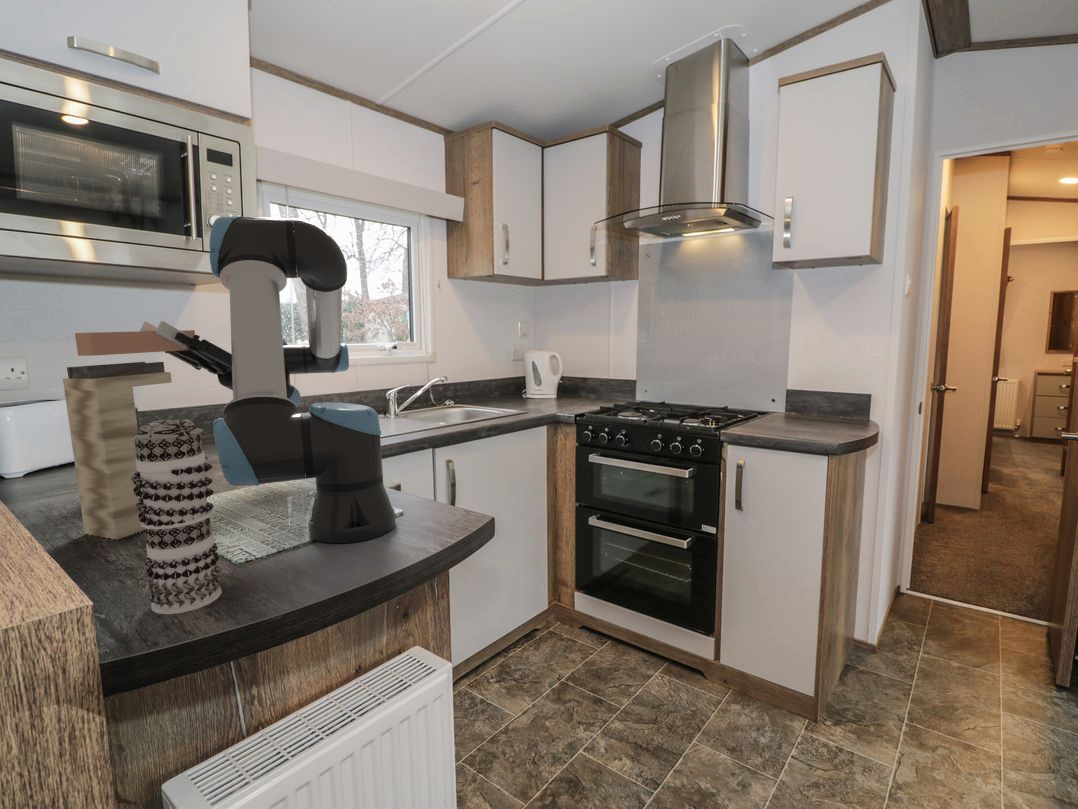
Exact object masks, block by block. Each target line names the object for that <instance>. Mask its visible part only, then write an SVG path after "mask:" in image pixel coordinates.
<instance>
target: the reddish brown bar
mask: <svg viewBox="0 0 1078 809" xmlns="http://www.w3.org/2000/svg"><path fill="white" fill-rule="evenodd" d="M181 331H182V332H183V333H185V334H187V335H189V336H191V337H192V339H193V337H194V335H196V333H195V332H196V330H194V329H193V330H192V329H190V330H181ZM155 333H156V331H140V330H139V331H107V332H106V331H105V332H104V331H103V332H102V331H101V332H75V333H74V338H75V342H76V343H75V345H76V350H77V351H76V352H77V356H78V357H79V356H83V357H84V356H87V357H88V356H91V357H92V356H108V355H127V354H128V355H129V354H142V353H143V354H144V353H165V351H183V350H189V347H187V349H183V348H182V347H180V346H178V345H176V344H174V343H172V342H170V341H168V340H166V339H165V338H163V337H161V336H159V335H157V334H155Z"/></svg>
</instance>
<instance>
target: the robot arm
mask: <svg viewBox="0 0 1078 809" xmlns="http://www.w3.org/2000/svg"><path fill="white" fill-rule="evenodd" d="M210 229H211V230H210V236H209V264H210V268H211V271H212V272H211V273H212V274H213V276H215V277H216V278H219V280H220V282H221V284H222V285H223V287H225V289H227V290H228V291H229V314H230V315H229V316H230V341H231V342H230V344H231V353H230V352H229V351H226V350H225V349H223V348H221V347H219V346H218V345H215V344H214V343H212V342H210V341H209V340H206V339H201V340H200V338H201V335H198V334H195V335H194V337H193V339H192V337H191V336H189V335H187V334H185V333H183V332H182V331H183V330H180V329H178V328H177V327H175V326H173V325H171V324H169V323H167V322H166V321H163V320H160V322H159V324H158V326H155V325H154V324H152V323H150V322H148V321H144V322H143V324H142V326H141V327H140V329H139V332H140V331H156V333H155V334H157V335H159V336H161V337H163V338H165V339H166V340H168V341H170V342H172V343H174V344H176V345H178V346H180V347H182V348H183V349H187V347H189V350H183V351H165V352H164V353H165V354H168V355H170V356H173V357H174V358H176V359H178V360H180V361H181V362H183V363H186V364H188V365H190V367H191V366H192V367H193V368H194V369H196V370H198V371H200V370H201V369H204V370H206V371H207V372H209V373H211V374H213V375H217V379H218V382H219V384H220V385H221V386H223V387H225V388H227V389H229V390H232V400H230V401H229V402H227V403H226V404H225V405H224V407H223V417H219V418H216V419H214V420H213V421H212V426H213V437H214V441H215V442H214V443H215V448H216V451H217V457H218V460H219V464H220V468H221V471H222V474H223V477H224V479H225V481H226V482H227V483H228V484H229V485H231V486H234V487H241V486H242V487H243V486H244V487H245V486H256V487H258V486H260V485H265V484H266V485H267V484H271V483H272V484H273V483H274V484H275V483H281V482H289V481H299V480H308V479H314V478H315V486H316V493H315V498H314V502H313V505H312V509H311V516H310V518H309V520H308V528H309V529H308V530H309V537H310V538H311V537H312V538H311V539H313V540H314V541H317V542H320V543H326V544H328V543H329V544H350V543H355V542H356V543H357V542H362V541H367V540H371V539H374V538H378V537H380V536H383V535H385V534H387V533H389V532H391V531H392V530H393V529H394V528H395V526H396V513H395V510H394V508H393V506H392V503H391V501H390V498H389V495H388V493H387V490H386V488H385V484H384V475H383V474H384V473H383V472H384V471H383V459H382V457H383V456H382V446H381V444H382V442H381V435H382V430H381V426H380V420H379V419H380V418H379V414H378V412H377V411H376V410H375V409H374V408H373V407H371V406H369V405H363V404H358V403H357V404H356V403H349V402H348V403H347V402H329V401H328V402H314V403H312V404H310V405H309V408H308V411H309V412H298V410H297V409H298V408H297V407H298V405H299V403H300V401H301V393H300V391H299V390H298V389H297V388H296V387H295V386H294V385H291V379H290V378H291V377H290V376H291V375H301V374H302V375H303V374H325V373H328V374H329V373H331V374H334V373H339V372H341V373H343V372H346V371H348V370H349V368H350V356H349V348H348V345H347V344H346V343H342V302H343V301H342V297H343V294H342V293H343V292H342V291H343V287H345V284H346V283H347V280H348V264H347V261H346V259H345V256H344V253H343V251H342V249H341V247H340V246H339V244H338V243H337V242H336V241H335V239H334V238H333V237H332V236H331V235H330V234H329V233H328V232H327V231H326V230H325V229H324V228H322V227H320V226H319V225H317V224H316V223H314V222H312V221H308V220H306V219H301V218H283V217H282V218H281V217H279V218H278V217H257V216H255V217H253V216H242V215H239V214H238V215H235V216H234V215H233V216H231V215H230V216H221V217H217V218H216V219H215V220H214V222H213V223H212V225H211V228H210ZM288 279H300V280H301V283H302V284H303V285H304V286H305V294H306V297H305V298H306V310H307V311H306V313H307V328H308V344H288V342H287V340H286V339H285V338H284V337H283V325H282V314H281V312H282V311H281V310H282V309H281V298H280V297H281V296H280V293H281V291H283V290H284V289H285V288H286V286H287V283H288Z"/></svg>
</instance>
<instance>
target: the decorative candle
mask: <svg viewBox="0 0 1078 809" xmlns="http://www.w3.org/2000/svg"><path fill="white" fill-rule="evenodd" d="M202 432H204V429H203V428H199V427H198V426H196V424H195V423H194V422H193V421H192V420H189V419H186V418H185V419H184V418H176V419H162V420H155V421H150V422H147V423H144V424H141V425H140V429H139V431H138V433H137V434H136V435H134V436H132V437H131V439H135V447H136V454H137V458H136V468H137V472H135V473H134V475H133V477H132V481H133V483H134V484H135V485H136V487H134V489H133V491H134V495H135V496H139V497H140V499H139V500H138V502H137V504H136V506H137V507H138V510H139V511H141V512H140V513H139V514H138V517H139V521H140V522H141V527H144V528H146V530H145V535H146V542H147V543H146V555H147V556H146V557H145V558H144V565H145V566H147V567H148V568H147V569H146V570H145V572H146V577H148V578H149V579H148V581H147V583H146V584H147V585H146V586H147V589H148V591H149V593H148V598H149V602H151V604H150V607H151V611H152V612H154V613H156V614H158V615H176V614H183V613H188V612H191V611H195V610H199V609H200V608H203V607H205V606H208V605H210V604H212V603H213V602H215V601H216V600H218V599H219V598H220V596H221V595H222V594H223V591H222V588H221V585H220V584H221V583H222V579H221V576H220V573H221V569H220V565H218V564H217V563H218V561H219V559H220V558H219V556H218V553H217V551H218V549H219V547H218V545H217V543H216V542H215V538H214V532H213V530H212V526H211V525H212V523H211V517H212V516H213V514H214V510H213V508H214V507H215V506H214V504H213V503H211V502H210V501H208V498H209V497H210V496H212V495H213V494H214V490H212V489H210V488H209V486H210V485H211V484H212V483H213V479H212V478H210V477H208V476H206V475H205V473H206V472H207V473H208V472H209V471H210V470H212V469H213V465H211V464H210V463H207V460H209V458H208V456H206V453H205V450H203V439H202ZM141 489H142V491H141Z"/></svg>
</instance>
